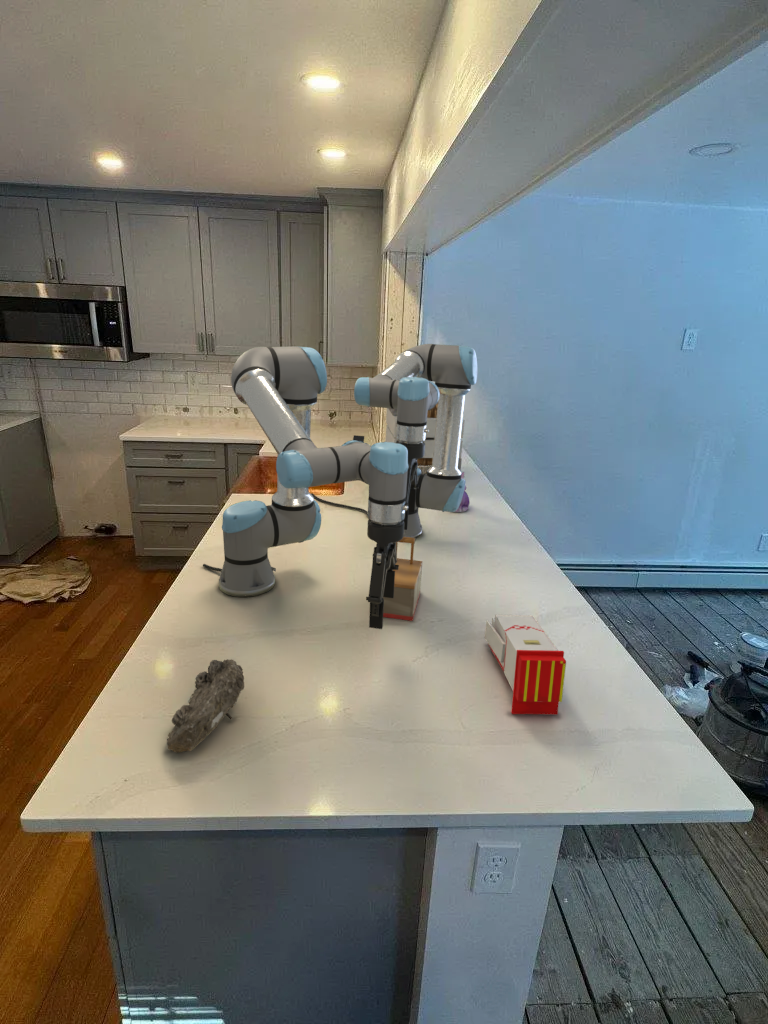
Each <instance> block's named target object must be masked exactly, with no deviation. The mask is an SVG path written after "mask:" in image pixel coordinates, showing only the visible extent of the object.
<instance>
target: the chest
mask: <svg viewBox="0 0 768 1024" xmlns="http://www.w3.org/2000/svg"><path fill="white" fill-rule="evenodd" d="M422 570H423V566H422V567H421V570H420V573H419V576H418V580H417V583H416V586H415V589H408V588H400V587H394V597H393V598H387V597H383V599H384V610H383V618H387V619H396V620H404V621H410V622H413V620H414V617H415V615H416V614H415V613H416V611H417V607H418V603H419V600H420V597H421V596H420V595H421V586H422V574H423V571H422Z"/></svg>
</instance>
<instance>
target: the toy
mask: <svg viewBox="0 0 768 1024" xmlns="http://www.w3.org/2000/svg"><path fill="white" fill-rule="evenodd" d="M494 615H495V616H494V617H491V622H490V620H485V621H486V622H485V630H484V640H485V641H486V642H487V646H488V647H489V649H490V651H491V652H492V654H493V656H494V657H495V659H496V661H497V663H498V665H499V667H500V668H501V670H502V671H503V674H504V676H505V678H506V680H507V682H508V684H509V686H510V689H511V690H512V701H511V712H510V713H511V714H512V715H556V716H558V715H559V714H558V713H559V705H560V703H562V702H563V695H564V694H563V693H564V686H565V685H564V683H565V677H566V676H565V675H566V667H567V666H566V665H567V660H566V658H564V656H565V651H564V650H559V649H558V648H557V646H556V645H555V644H554V642H553V641H552V640H551V638H550V637H549V636H548V634H547V633H546V631H544V629H543V628H542V626H541V625H540V623H539V622H538V620H536V618H535V617H534V615H531V614H530V615H527V614H526V615H523V614H519V615H518V614H494Z"/></svg>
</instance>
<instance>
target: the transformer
mask: <svg viewBox="0 0 768 1024" xmlns="http://www.w3.org/2000/svg"><path fill="white" fill-rule="evenodd" d="M437 406H438V402H437V404H436V405H435V406H434V408H432V409H430V410H428V413H427V425H426V428H425V429H428V430H429V432H428V433H426V439H425V440H424V441H423V442H425V455H424V457H422V458H420V459H417V463H418V466H417V467H431V466H432V460H433V449H434V439H435V428H436V417H437ZM385 414H386V415H385V423H386V428H385V438H384V442H393V443H396V441H397V439H396V423H397V409H392V408H386V413H385ZM464 429H465V419H464V418H463V420H462V430H461V439H460V449H459V458H458V469H459V470H460V472H461V473H462V461H463V460H462V453H463V442H464V441H463V440H462V439H463V438H464V431H465V430H464Z"/></svg>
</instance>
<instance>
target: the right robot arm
mask: <svg viewBox="0 0 768 1024" xmlns="http://www.w3.org/2000/svg"><path fill="white" fill-rule="evenodd" d="M477 357H478V356H477V353H476V350H475V348H474V347H471V346H466V345H461V344H459V345H455V344H440V343H439V344H438V343H437V344H436V343H435V344H434V343H423V344H419V345H415V346H412V347H410V348H407V349H406V350H403V351H402V352H400V353H399V354H397V356H396V357H395V360H394V362H392V363H391V364H390V365H389V366H387V367H386V368H384V369H383V370H382V371H381V372H379V373H378V374H376V375H375V376H374V377H369V376H366V377H359V378H357V380H356V381H355V384H354V388H353V389H354V390H353V391H354V392H353V396H354V397H353V398H354V401H355V403H356V404H357V405H359V406H363V407H364V406H365V407H368V408H370V407H371V408H382V409H387V408H392V409H397V423H396V439H397V441H396V443H398V444H402V445H404V446H405V447H406V448H407V450H408V473H407V487H406V500H405V504H404V506H408V510H405V517H404V519H403V521H404V537H412V538H415V539H418V538H420V537H421V536H422V535H423V525H422V524H421V518H420V515H419V509H425V510H433V511H439V512H440V511H441V513H444V512H447V513H456V512H455V511H456V510H457V509H458V508H459V505H460V503H461V500H462V497H463V493H464V489H465V485H466V479H465V478H464V479H463V478H462V479H461V473H462V471H461V472H460V470H459V469H458V458H459V449H460V439H461V440H462V438H461V430H462V420H463V419H464V409H465V401H466V395H467V394H468V393H469V392H470V391H471V389H472V386H474V385H476V384H477V381H478V359H477ZM437 402H438V406H437V417H436V428H435V439H434V449H433V460H432V465H430V466H429V468H427V469H426V474H425V473H422V469H421V468H419V466H418V463H417V459H420V458H422V457H424V455H425V442H423V441H424V440H425V439H426V433H428V432H429V430H428V429H425V428H426V425H427V413H428V410H430V409H432V408H434V406H435V405H436V404H437ZM310 494H311V495H312V496H313V497H314V500H317V501H319V502H321V503H324V504H328V505H332V506H336V507H341V508H345V509H350V510H354V511H360V512H362V513H364V514H366V516H367V517H368V510H366V509H365V508H361V507H358V506H357V507H356V506H352V505H348V504H342V503H338V502H337V503H336V502H332V501H328V500H325V499H322V498H320V497H318V496H317V495H316V494H314V493H313V492H310Z"/></svg>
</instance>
